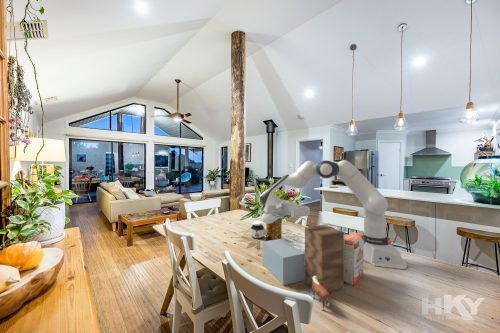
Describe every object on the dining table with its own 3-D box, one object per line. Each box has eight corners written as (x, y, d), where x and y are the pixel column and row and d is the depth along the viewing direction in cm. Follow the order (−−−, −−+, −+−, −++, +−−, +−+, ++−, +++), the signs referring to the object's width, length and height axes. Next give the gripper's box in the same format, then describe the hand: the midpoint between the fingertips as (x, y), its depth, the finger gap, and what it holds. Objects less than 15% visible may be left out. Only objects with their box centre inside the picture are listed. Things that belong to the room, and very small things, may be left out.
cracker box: (354, 286, 100) (355, 241, 99) (341, 281, 104) (341, 238, 103) (364, 274, 110) (364, 233, 109) (352, 270, 114) (352, 231, 113)
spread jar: (249, 238, 164) (249, 222, 163) (256, 233, 174) (255, 219, 173) (263, 240, 158) (263, 224, 158) (269, 235, 168) (269, 221, 168)
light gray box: (272, 208, 123) (272, 201, 123) (285, 206, 126) (285, 199, 126) (294, 217, 102) (294, 209, 102) (309, 215, 106) (309, 207, 106)
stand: (305, 281, 104) (304, 227, 103) (324, 276, 109) (324, 224, 108) (322, 295, 93) (322, 235, 92) (343, 289, 97) (343, 231, 97)
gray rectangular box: (262, 264, 121) (262, 241, 121) (281, 260, 126) (281, 238, 125) (283, 285, 101) (283, 257, 100) (304, 280, 105) (304, 253, 105)
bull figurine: (317, 291, 96) (317, 273, 96) (332, 312, 83) (332, 291, 83) (307, 292, 96) (307, 273, 95) (321, 313, 82) (321, 292, 82)
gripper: (259, 208, 131) (268, 200, 119) (288, 205, 138) (299, 197, 127) (261, 218, 128) (271, 211, 117) (291, 215, 136) (302, 207, 124)
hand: (286, 204), depth 122 cm, fingers closed on light gray box, 4 cm apart
